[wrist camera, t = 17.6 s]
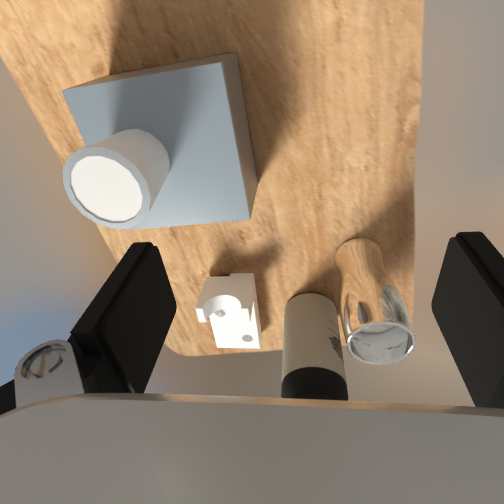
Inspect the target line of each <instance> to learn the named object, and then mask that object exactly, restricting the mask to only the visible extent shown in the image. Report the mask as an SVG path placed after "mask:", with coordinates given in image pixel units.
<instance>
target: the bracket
mask: <svg viewBox="0 0 504 504" xmlns="http://www.w3.org/2000/svg"><path fill="white" fill-rule="evenodd" d="M195 309H196V312H197V316H198V319H199V322H206V321H207V319H208V317H210V321H211V325H212V329H213V333H214V337H215V341H216V345H217V348H260V343H261V333H262V332H261V324H260V317H259V309H258V301H257V294H256V286H255V278H254V273H230V276H219V277H206V279H205V282H204V285H203V288H202V291H201V294H200V297H199V300H198V302H197V305H196V308H195Z"/></svg>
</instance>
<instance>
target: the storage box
mask: <svg viewBox="0 0 504 504" xmlns="http://www.w3.org/2000/svg"><path fill="white" fill-rule="evenodd" d="M221 61H223V66H224V71H225V77H226V82H227V88H228V93H229V99H230V104H231V110H232V115H233V121H234V126H235V131H236V137H237V142H238V148H239V153H240V159H241V164H242V170H243V175H244V181H245V186H246V191H247V197H248V202H249V208H250V213H252V209H253V204H254V200H255V195H256V191H257V186H258V179H257V173H256V167H255V161H254V154H253V148H252V142H251V136H250V129H249V123H248V117H247V110H246V104H245V98H244V92H243V85H242V79H241V73H240V67H239V60H238V54H237V52H234V53H228V54H223V55H217V56H212V57H206V58H201V59H195V60H190V61H184V62H178V63H173V64H167V65H162V66H156V67H151V68H145V69H140V70H134V71H128V72H123V73H117V74H112V75H107V76H104V77H101V78H98V79H95V80H92V81H89V82H86V83H83V84H80V85H77V86H74V87H80V86H85V85H91V84H97V83H102V82H108V81H114V80H119V79H125V78H131V77H136V76H142V75H148V74H153V73H159V72H165V71H170V70H176V69H182V68H187V67H193V66H199V65H204V64H210V63H216V62H221ZM74 87H71V88H74Z"/></svg>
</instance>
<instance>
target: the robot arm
mask: <svg viewBox="0 0 504 504" xmlns="http://www.w3.org/2000/svg"><path fill="white" fill-rule="evenodd" d="M176 307H177V306H176V301H175V297H174V294H173V291H172V288H171V285H170V282H169V279H168V276H167V273H166V270H165V267H164V264H163V261H162V258H161V255H160V252H159V249H158V247H157V246H153V244H152V243H151V242H135V243H133V244H132V245H131V246H130V248H129V249H128V251H127V252H126V253H125V255H124V256H123V258H122V259H121V261H120V262H119V263H118V265H117V266H116V268H115V269H114V271H113V272H112V274H111V275H110V276H109V278H108V279H107V281H106V282H105V283H104V285H103V286H102V288H101V289H100V291H99V292H98V293H97V295H96V296H95V298H94V300H93V301H92V302H91V304H90V305H89V306H88V308H87V309H86V311H85V312H84V313H83V315H82V316H81V318H80V319H79V321H78V322H77V324H76V325H75V326H74V328H73V329H72V331H71V332H70V333H71V336H70V337H69V339H68V340H67V341H65V340H59V339H57V340H51V341H48V342H45V343H42V344H40V345H38V346H37V347H35V348H33V349H32V350H31V351H29V352H28V353H27V354H25V356H24V357H23V358H22V359H21V360H20V361H19V363H18V365H17V366H16V368H15V373H14V379H13V380H12V381H10V382H8V383H6V384H4V385H2V386H1V387H0V504H504V258H503V257H502V255H501V254H500V253H499V252H498V251H497V249H496V248H495V247H494V246H493V244H492V243H491V242H490V241H489V240H488V239H487V238H486V236H485V235H484V234H483V233H482V232H459V233H457V235H456V236H455V237H452V238H450V240H449V242H448V246H447V250H446V253H445V257H444V260H443V264H442V267H441V271H440V274H439V278H438V282H437V285H436V289H435V293H434V296H433V299H432V312H433V314H434V316H435V319H436V321H437V323H438V325H439V327H440V330H441V332H442V334H443V336H444V338H445V340H446V343H447V345H448V347H449V349H450V352H451V354H452V356H453V358H454V360H455V363H456V365H457V367H458V369H459V371H460V373H461V376H462V378H463V380H464V382H465V385H466V387H467V389H468V391H469V393H470V396H471V398H472V400H473V402H474V404H475V406H476V407H467V406H449V405H430V404H409V403H387V402H363V401H342V400H317V399H292V398H264V397H240V396H239V397H238V396H210V395H182V394H149V393H147V394H146V393H144V391H145V389H146V386H147V383H148V381H149V378H150V376H151V373H152V371H153V368H154V366H155V363H156V361H157V358H158V356H159V353H160V351H161V348H162V346H163V343H164V341H165V338H166V336H167V333H168V331H169V328H170V326H171V323H172V321H173V318H174V316H175V313H176Z"/></svg>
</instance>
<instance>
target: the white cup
mask: <svg viewBox="0 0 504 504" xmlns="http://www.w3.org/2000/svg"><path fill="white" fill-rule="evenodd" d="M169 167H170V161H169V157H168V153H167V151H166V149H165V148H164V146H163V145H162V143H161V142H160V141H159V140H158V139H157V138H156V137H154V136H153V135H152V134H151V133H148V132H146V131H143V130H140V129H126V130H124V131H121V132H119V133H116V134H114V135H112V136H109V137H107V138H105V139H102V140H100V141H97V142H95V143H93V144H90V145H88V146H86V147H83V148H81V149H80V150H78V151H76V152H75V153H73V154H71V155H70V156H69V157H68V159H67V161H66V163H65V165H64V167H63V185H64V187H65V190H66V192H67V194H68V197H69V199H70V201H71V202H72V203H73V204H74V205H75V206H76V208H77V209H78V210H79V211H80V212H81V213H82V214H83V215H84V216H86V217H87V218H89V219H90V220H92V221H94V222H95V223H97V224H99V225H102V226H106V227H109V228H112V229H128V228H130V227H133V226H135V225H137V224H139V223H141V222H142V221H143V219H144V218H145V217H146V215H147V214H148V213H149V211H150V209H151V207H152V205H153V203H154V201H155V199H156V197H157V195H158V193H159V191H160V190H161V188H162V186H163V184H164V182H165V180H166V178H167V176H168V173H169Z"/></svg>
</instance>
